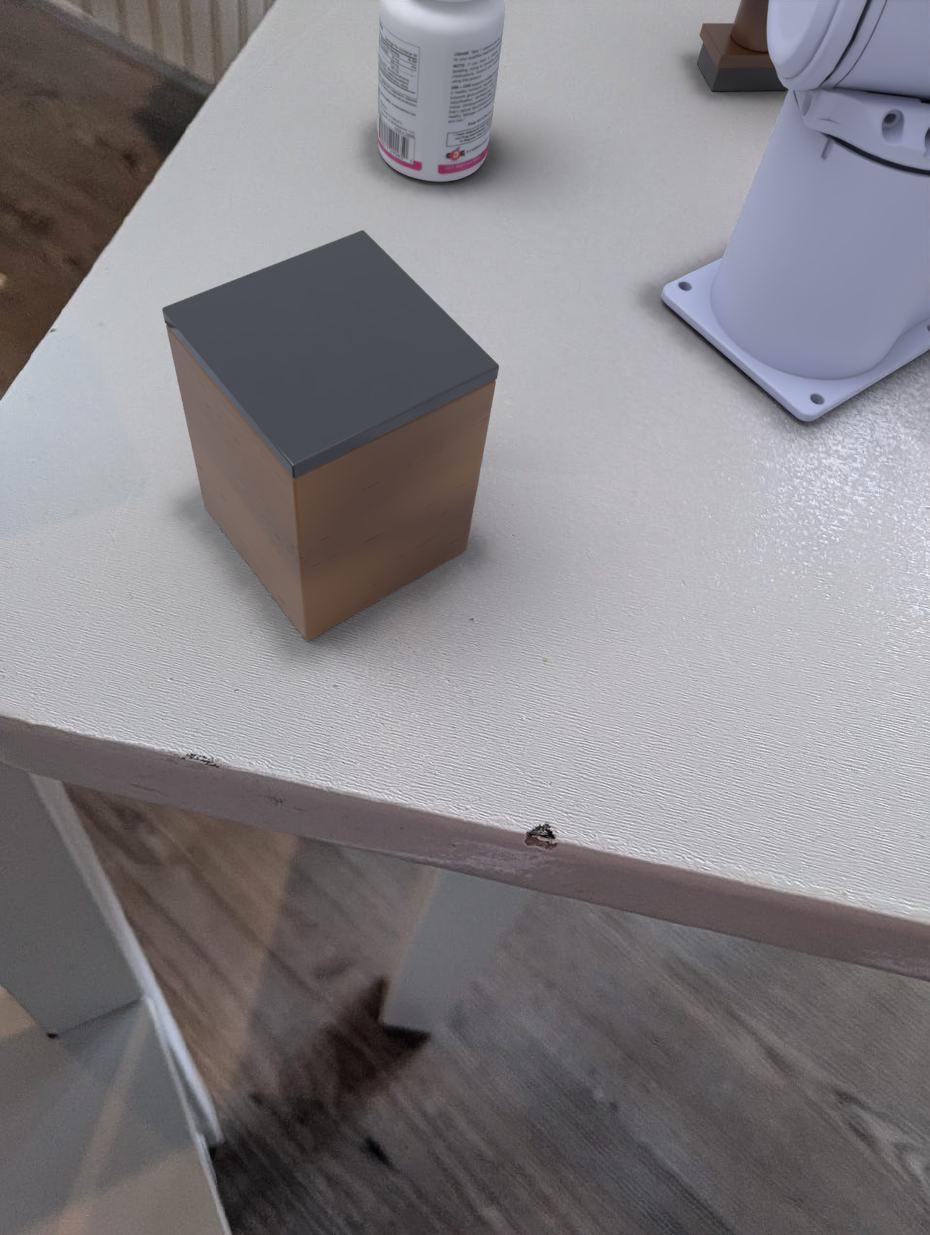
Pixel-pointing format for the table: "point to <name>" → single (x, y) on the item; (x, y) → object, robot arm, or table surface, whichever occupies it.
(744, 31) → the rubber stamp
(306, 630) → the stand
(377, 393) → the tile
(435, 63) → the pill bottle
